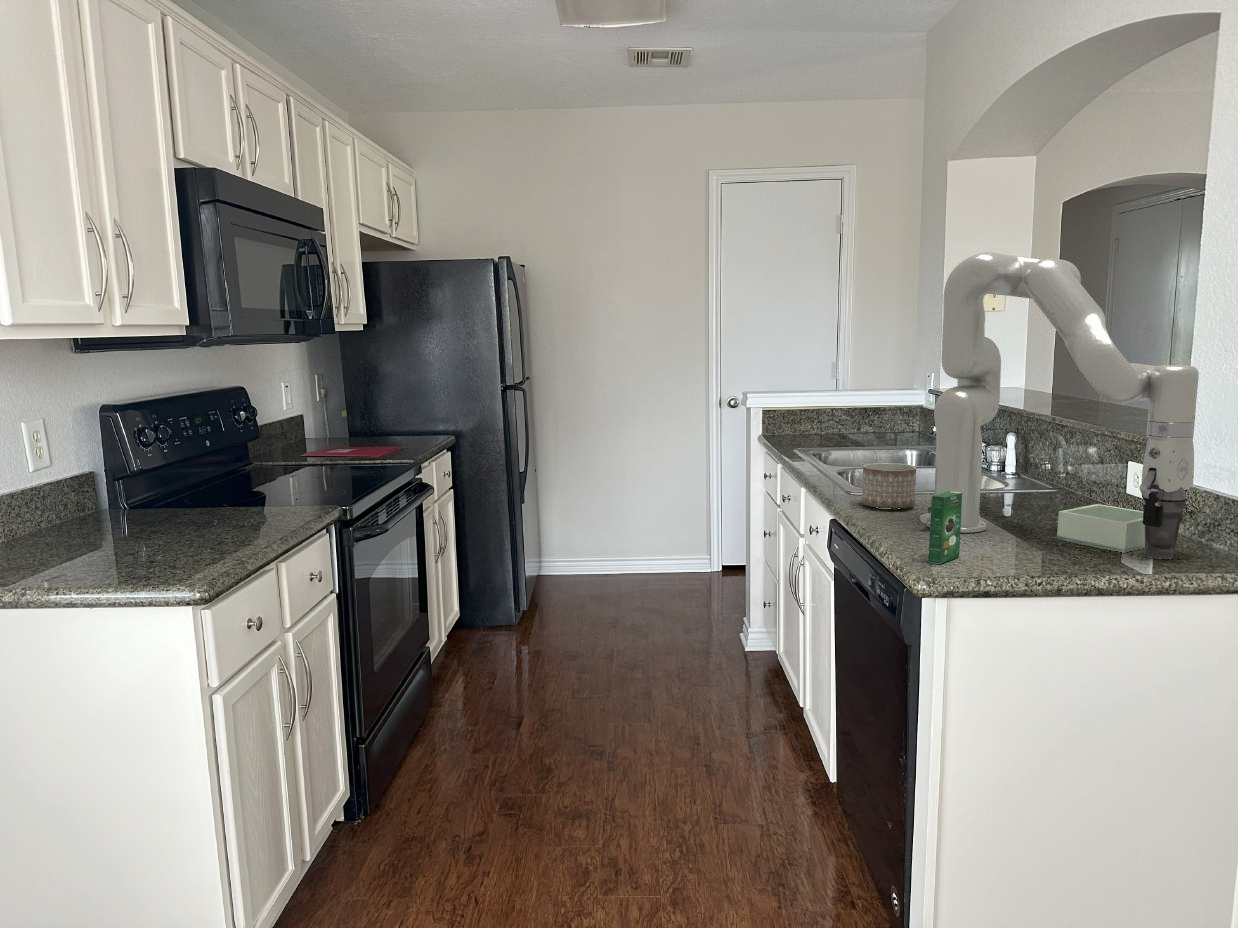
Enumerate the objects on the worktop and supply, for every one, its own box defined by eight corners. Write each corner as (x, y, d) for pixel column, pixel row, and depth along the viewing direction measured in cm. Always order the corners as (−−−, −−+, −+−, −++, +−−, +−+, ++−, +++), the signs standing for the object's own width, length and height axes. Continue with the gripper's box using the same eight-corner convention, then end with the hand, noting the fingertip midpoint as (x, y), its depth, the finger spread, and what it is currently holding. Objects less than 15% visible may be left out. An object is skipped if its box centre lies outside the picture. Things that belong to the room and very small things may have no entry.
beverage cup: (1165, 563, 161) (1173, 458, 158) (1128, 554, 167) (1136, 453, 164) (1190, 558, 164) (1199, 455, 161) (1153, 550, 170) (1161, 450, 167)
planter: (922, 506, 216) (924, 465, 215) (902, 514, 207) (904, 472, 205) (874, 500, 224) (875, 461, 223) (853, 508, 215) (854, 467, 213)
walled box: (1124, 553, 168) (1126, 523, 167) (1056, 539, 180) (1058, 511, 179) (1162, 543, 175) (1165, 515, 174) (1095, 530, 187) (1097, 503, 186)
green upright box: (946, 554, 169) (949, 489, 167) (960, 557, 167) (963, 491, 165) (926, 562, 164) (929, 494, 162) (941, 565, 162) (944, 496, 160)
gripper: (1166, 435, 154) (1158, 532, 157) (1215, 429, 163) (1206, 521, 166) (1124, 432, 161) (1117, 525, 163) (1173, 426, 169) (1166, 514, 172)
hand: (1162, 522), depth 165 cm, fingers closed on beverage cup, 6 cm apart
